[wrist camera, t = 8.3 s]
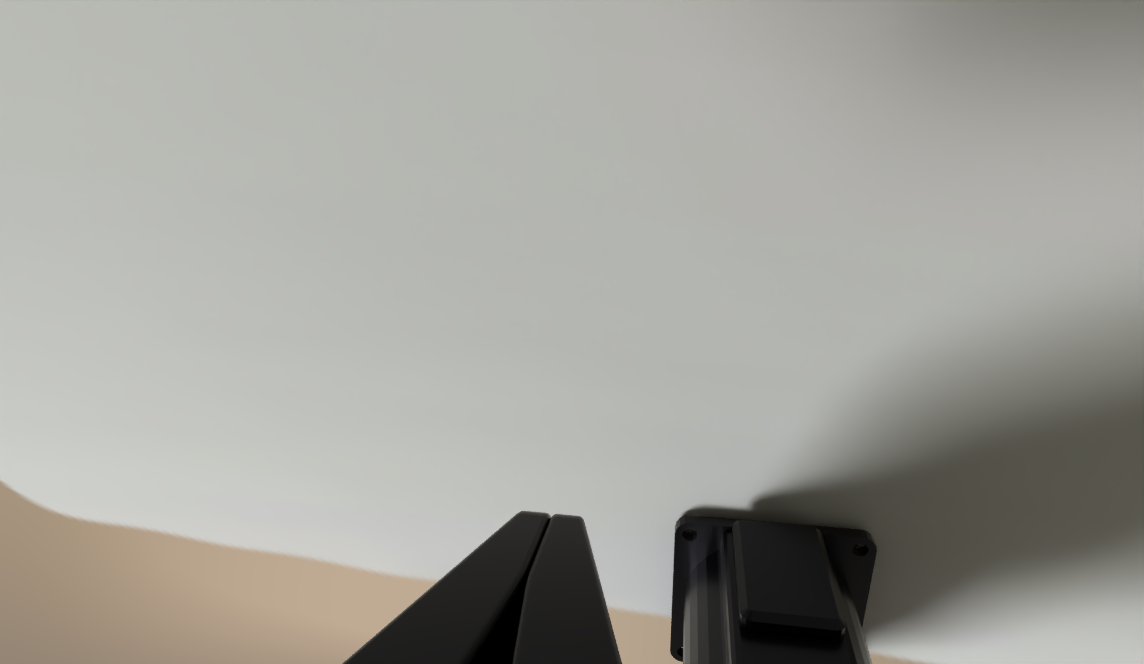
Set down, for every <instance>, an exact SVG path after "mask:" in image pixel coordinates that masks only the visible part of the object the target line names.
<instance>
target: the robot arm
mask: <svg viewBox="0 0 1144 664" xmlns="http://www.w3.org/2000/svg"><path fill="white" fill-rule="evenodd" d="M686 529H692V530H694V531H695V532H694V533H687V532H685V530H686ZM857 544H864V546H862V547H860V548H855V547H854V546H855V545H857ZM876 552H877V549H876V544H875V542H874V539H873V537H872V536H871V534H869V533H868V532H866V531H863V530H858V529H846V528H834V527H822V526H810V525H798V524H786V523H774V522H762V521H750V520H738V519H726V518H714V517H701V516H684V517H681V518H680V519H679V520H678V521H677V522H676V525H675V546H674V571H673V596H672V621H671V647H670V651H671V655H672V656H673V657H674V658H675V659H676V660H678V661H682V662H683V664H872V662H871V658H870V655H869V651H868V648H867V645H866V641H865V638H864V635H863V631H862V624H863V619H864V614H865V609H866V604H867V599H868V593H869V588H870V583H871V578H872V573H873V568H874V563H875V557H876ZM681 647H683V648H681ZM343 664H622V662H621V658H620V655H619V651H618V647H617V644H616V640H615V636H614V632H613V629H612V625H611V621H610V617H609V613H608V609H607V606H606V602H605V598H604V594H603V591H602V587H601V583H600V579H599V576H598V572H597V568H596V564H595V560H594V557H593V553H592V549H591V545H590V542H589V538H588V534H587V530H586V527H585V523H584V520H583V518H582V517H580V516H573V515H562V514H555V515H553V516H552V517H551V516H550V515H549V514H548V513H541V512H530V511H521V512H519V513H517V514H516V515H515V516H514V517H513V518H512V519H510V520H509V521H508V522H507V523H506V524H505V525H503V526H502V527H501V528H500V529H499V530H498V531H496V532H495V533H494V534H493V535H492V536H491V537H489V538H488V539H487V540H486V541H485V542H484V543H482V544H481V545H480V546H479V547H478V548H477V549H475V550H474V551H473V552H472V553H471V554H470V555H468V556H467V557H466V558H465V559H464V560H463V561H461V562H460V563H459V564H458V565H457V566H456V567H454V568H453V569H452V570H451V571H450V572H449V573H447V574H446V575H445V576H444V577H443V578H442V579H440V580H439V581H438V582H437V583H436V584H435V585H434V586H432V587H431V588H430V589H429V590H428V591H426V592H425V593H424V594H423V595H422V596H421V597H420V598H418V599H417V600H416V601H415V602H414V603H413V604H411V605H410V606H409V607H408V608H407V609H405V610H404V611H403V612H402V613H401V614H400V615H398V616H397V617H396V618H395V619H394V620H393V621H391V622H390V623H389V624H388V625H387V626H386V627H384V629H382V630H381V631H380V632H379V633H378V634H376V636H374V637H373V638H372V639H371V640H369V641H368V642H367V643H366V644H365V645H364V646H362V647H361V648H360V649H359V650H358V651H357V652H355V653H354V654H353V655H352V656H351V657H350V658H348V659H347V660H346V661H345V662H344V663H343Z"/></svg>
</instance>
